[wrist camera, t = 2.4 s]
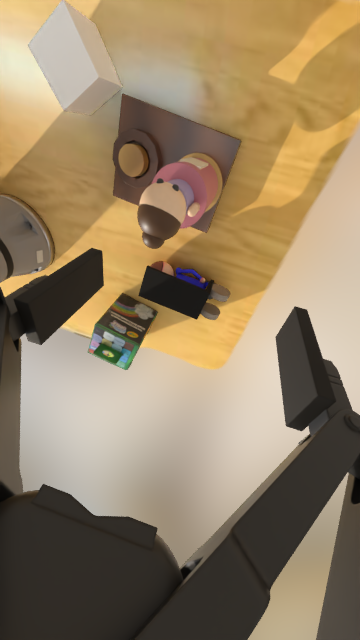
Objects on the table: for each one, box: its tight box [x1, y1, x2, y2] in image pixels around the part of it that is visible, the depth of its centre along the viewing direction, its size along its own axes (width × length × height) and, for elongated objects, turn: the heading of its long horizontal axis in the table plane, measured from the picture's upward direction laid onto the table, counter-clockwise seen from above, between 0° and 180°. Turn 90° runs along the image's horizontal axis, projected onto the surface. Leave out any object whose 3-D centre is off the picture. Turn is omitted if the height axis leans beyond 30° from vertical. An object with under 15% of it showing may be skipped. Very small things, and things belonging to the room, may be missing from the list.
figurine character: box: [139, 261, 230, 320], centre depth 41 cm, size 7×8×15 cm
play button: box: [119, 144, 149, 177], centre depth 31 cm, size 4×4×2 cm
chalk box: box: [88, 293, 157, 370], centre depth 47 cm, size 9×9×15 cm
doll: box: [138, 153, 222, 249], centre depth 24 cm, size 7×7×17 cm
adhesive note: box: [28, 0, 123, 115], centre depth 27 cm, size 6×6×6 cm
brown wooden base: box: [113, 94, 241, 233], centre depth 32 cm, size 16×12×4 cm
